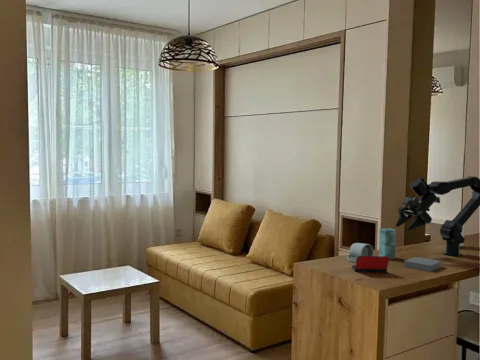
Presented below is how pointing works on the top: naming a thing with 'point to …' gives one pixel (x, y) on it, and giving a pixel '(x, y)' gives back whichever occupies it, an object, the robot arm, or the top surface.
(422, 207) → the robot arm
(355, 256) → the ceramic mug
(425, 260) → the gray square slab
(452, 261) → the top surface
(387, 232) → the teal block
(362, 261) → the handheld game console
